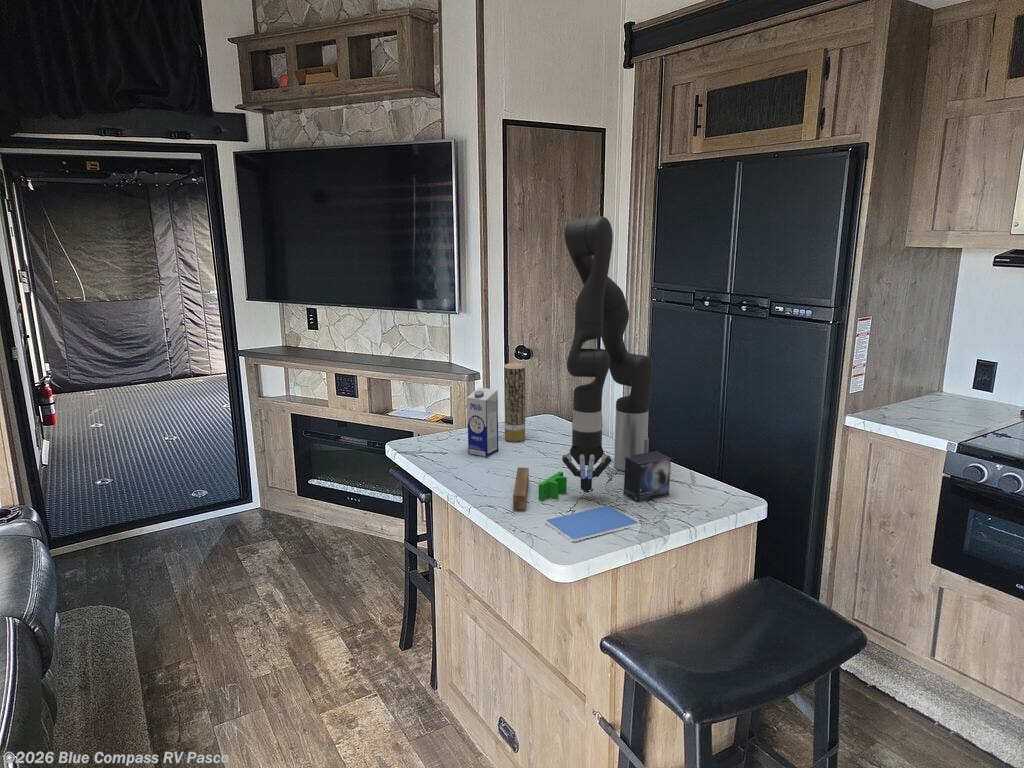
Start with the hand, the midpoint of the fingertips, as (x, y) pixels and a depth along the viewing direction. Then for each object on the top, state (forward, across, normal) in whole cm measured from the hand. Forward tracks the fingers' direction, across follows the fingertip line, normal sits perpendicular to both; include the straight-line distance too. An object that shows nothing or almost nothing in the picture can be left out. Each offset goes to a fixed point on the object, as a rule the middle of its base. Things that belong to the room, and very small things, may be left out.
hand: (585, 491), depth 175 cm
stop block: (+2, +17, 0) cm, 17 cm away
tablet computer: (+2, -1, +16) cm, 17 cm away
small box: (+2, -16, -2) cm, 16 cm away
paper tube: (+2, +21, -48) cm, 53 cm away
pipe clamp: (+2, +8, -1) cm, 8 cm away
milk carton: (+2, +30, -34) cm, 46 cm away
